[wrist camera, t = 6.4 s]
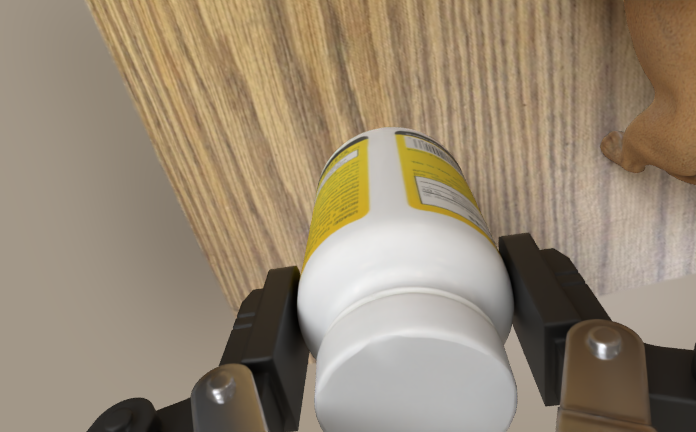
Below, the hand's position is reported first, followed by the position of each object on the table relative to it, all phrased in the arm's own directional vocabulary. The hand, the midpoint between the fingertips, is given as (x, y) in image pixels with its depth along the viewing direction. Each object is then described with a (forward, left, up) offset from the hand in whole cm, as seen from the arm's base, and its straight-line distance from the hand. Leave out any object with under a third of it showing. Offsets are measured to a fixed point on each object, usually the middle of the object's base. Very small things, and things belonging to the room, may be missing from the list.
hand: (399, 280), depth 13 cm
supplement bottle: (0, 0, -6) cm, 6 cm away
